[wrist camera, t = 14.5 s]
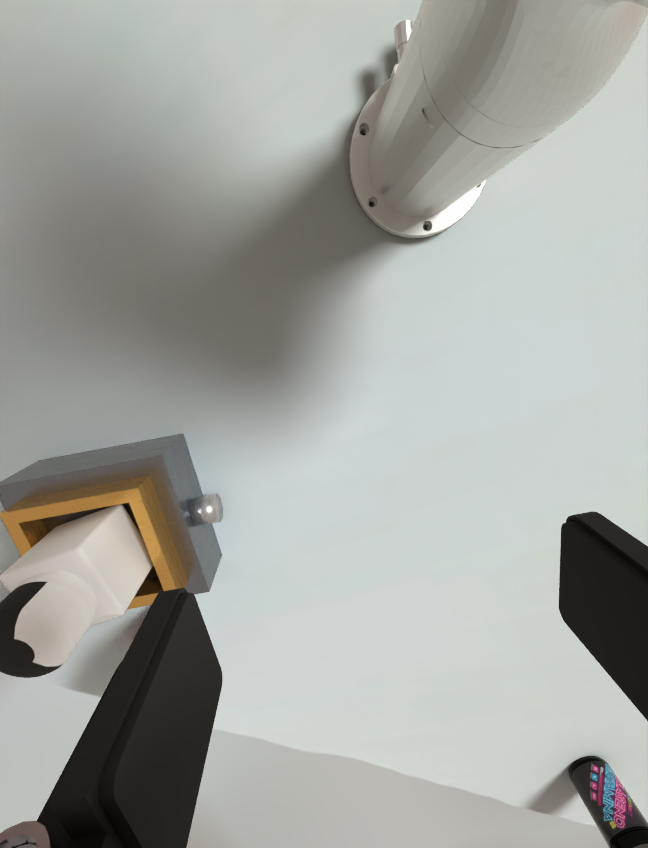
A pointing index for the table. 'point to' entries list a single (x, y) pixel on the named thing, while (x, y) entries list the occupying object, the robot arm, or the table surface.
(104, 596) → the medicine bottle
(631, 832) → the supplement container
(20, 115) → the table surface
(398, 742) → the table surface
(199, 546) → the drawer box
